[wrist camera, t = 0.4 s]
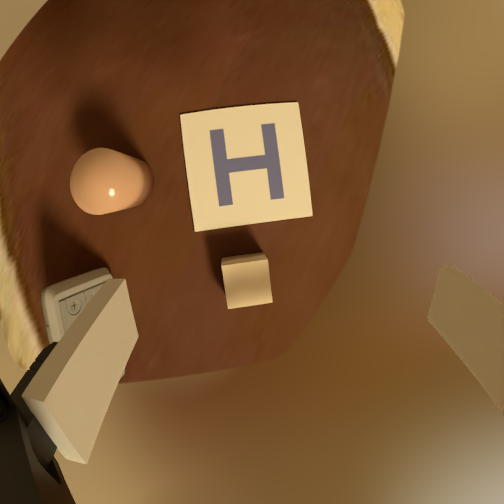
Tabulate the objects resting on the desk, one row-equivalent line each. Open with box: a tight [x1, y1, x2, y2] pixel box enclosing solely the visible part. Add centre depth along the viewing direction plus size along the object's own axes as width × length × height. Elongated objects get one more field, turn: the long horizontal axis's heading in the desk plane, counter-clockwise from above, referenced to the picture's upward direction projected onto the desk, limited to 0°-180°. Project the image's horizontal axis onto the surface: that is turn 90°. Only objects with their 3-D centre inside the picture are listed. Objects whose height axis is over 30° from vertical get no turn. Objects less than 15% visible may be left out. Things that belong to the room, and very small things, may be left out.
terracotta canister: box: [70, 148, 154, 215], centre depth 29 cm, size 6×6×10 cm
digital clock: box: [41, 267, 125, 378], centre depth 32 cm, size 16×9×11 cm, turn 167°
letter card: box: [180, 102, 313, 232], centre depth 35 cm, size 14×14×1 cm
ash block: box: [221, 252, 272, 309], centre depth 36 cm, size 5×5×4 cm
